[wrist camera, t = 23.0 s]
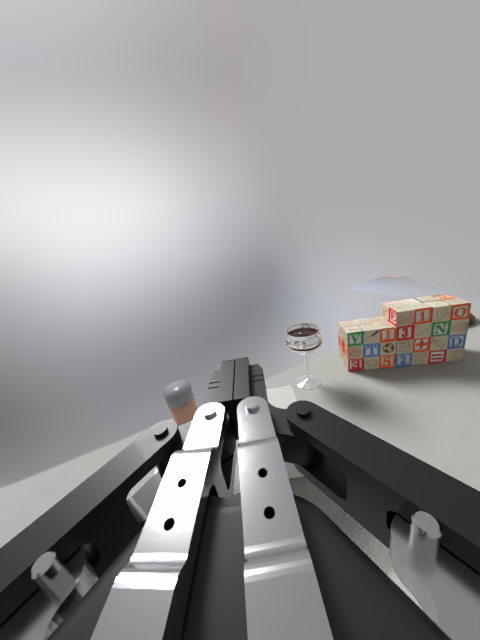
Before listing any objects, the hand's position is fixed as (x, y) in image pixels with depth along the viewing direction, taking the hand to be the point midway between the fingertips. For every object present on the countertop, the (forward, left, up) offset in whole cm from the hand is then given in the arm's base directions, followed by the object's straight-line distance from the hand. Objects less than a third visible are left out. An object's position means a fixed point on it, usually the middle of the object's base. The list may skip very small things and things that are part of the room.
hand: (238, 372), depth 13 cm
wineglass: (+10, +29, -24) cm, 39 cm away
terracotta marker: (-11, +15, -23) cm, 30 cm away
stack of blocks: (+29, +33, -24) cm, 50 cm away
